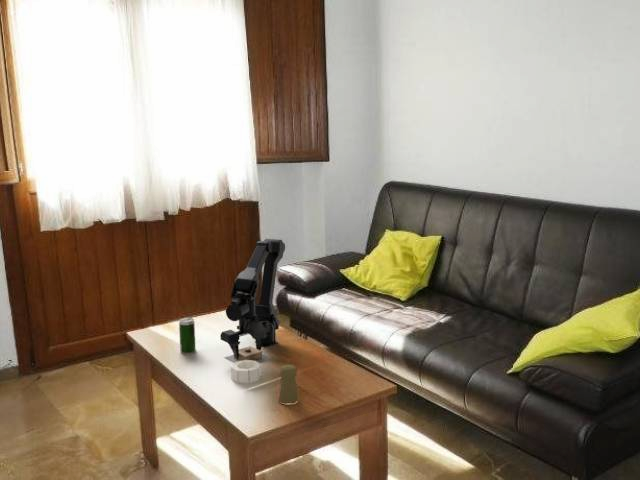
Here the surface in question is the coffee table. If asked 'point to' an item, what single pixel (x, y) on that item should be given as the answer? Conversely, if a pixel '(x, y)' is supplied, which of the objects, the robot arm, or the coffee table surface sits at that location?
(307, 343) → the coffee table surface
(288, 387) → the green shaker
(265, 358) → the mat
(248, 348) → the lid
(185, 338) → the beer can
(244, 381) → the bowl
